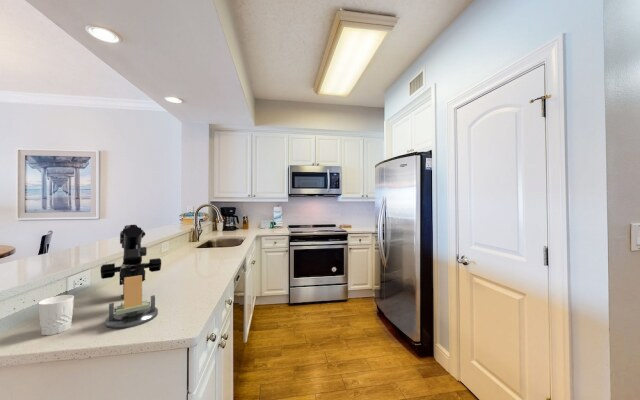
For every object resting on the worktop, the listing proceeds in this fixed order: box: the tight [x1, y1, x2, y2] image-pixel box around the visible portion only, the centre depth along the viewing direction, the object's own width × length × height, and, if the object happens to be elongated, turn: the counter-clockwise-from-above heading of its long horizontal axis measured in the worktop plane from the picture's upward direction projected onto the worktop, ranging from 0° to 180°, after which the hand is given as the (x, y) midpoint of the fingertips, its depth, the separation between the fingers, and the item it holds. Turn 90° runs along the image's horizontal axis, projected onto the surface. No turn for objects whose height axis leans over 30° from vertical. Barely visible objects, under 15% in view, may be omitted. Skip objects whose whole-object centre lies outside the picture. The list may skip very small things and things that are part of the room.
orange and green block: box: [114, 275, 151, 315], centre depth 90 cm, size 14×10×11 cm
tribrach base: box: [104, 295, 159, 330], centre depth 89 cm, size 15×15×6 cm
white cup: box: [38, 294, 75, 336], centre depth 80 cm, size 8×8×10 cm
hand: (132, 287), depth 93 cm, fingers closed
